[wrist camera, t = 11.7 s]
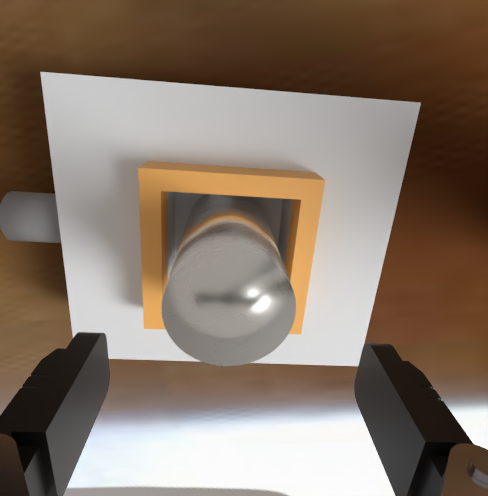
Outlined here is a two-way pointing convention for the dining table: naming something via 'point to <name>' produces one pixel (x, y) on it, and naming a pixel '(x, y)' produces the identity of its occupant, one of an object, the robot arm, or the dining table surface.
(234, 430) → the dining table surface
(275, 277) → the shiny metal cylinder
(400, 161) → the white square box
